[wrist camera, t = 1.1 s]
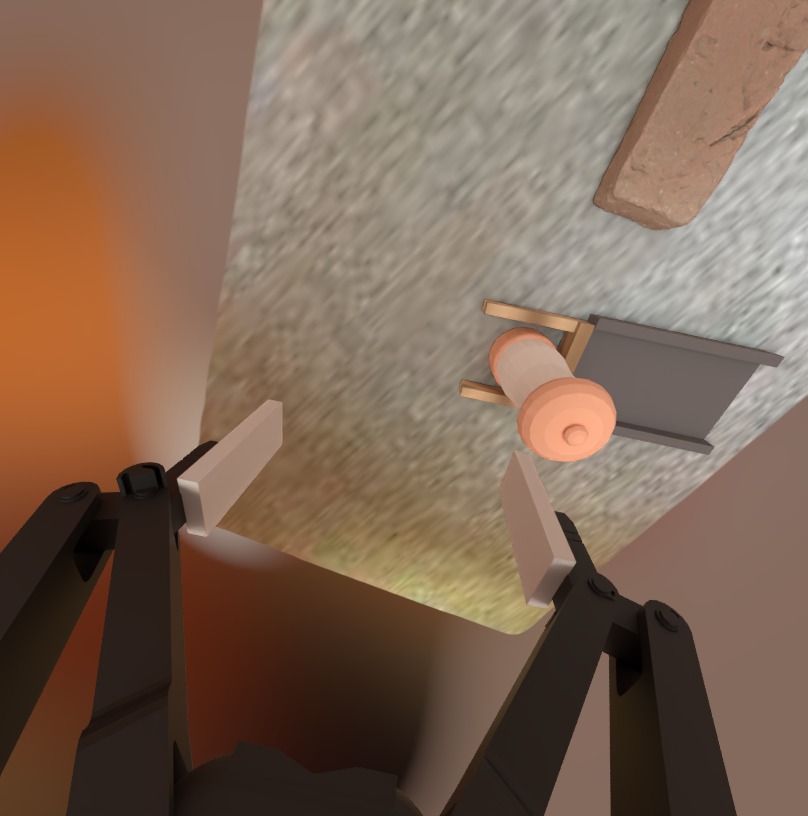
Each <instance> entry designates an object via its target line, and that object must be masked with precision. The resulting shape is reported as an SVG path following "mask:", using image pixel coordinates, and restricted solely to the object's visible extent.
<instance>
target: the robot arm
mask: <svg viewBox="0 0 808 816" xmlns="http://www.w3.org/2000/svg"><path fill="white" fill-rule="evenodd" d="M281 445H282V402H278V401H273V400H269V399H268V400H267V401H266V402H265V403H264V404H263V405H261V406H260V407H259V408H258V409H257V410H256V411H254V412H253V413H252V414H251V415H250V416H249V417H248V418H246V419H245V420H244V421H243V422H242V423H241V424H239V425H238V426H237V427H236V428H235V429H234V430H232V431H231V432H230V433H229V434H228V435H227V436H226V437H224V438H223V439H222V440H221V441H220V442H216V441H208V442H206V443H204V444H202V445H199V446H198V447H197V448H196V449H194V450H193V451H192V452H190V454H188V455H187V456H186V457H184V458H183V460H181V461H179V462H178V463H177V464H176V465H174V466H173V467H172V468H171V469H169V470H168V471H167V472H166V473H165V469H164V467H163V466H162V465H160V464H158V463H152V462H148V463H140V464H136V465H133V466H131V467H128V468H127V469H124V470H123V471H122V472H121V473H119V475H118V477H117V478H116V480H117V483H118V486H119V489H120V492H107V493H101V491H100V488H99V487H98V485H97V484H95V483H92V482H79V483H72V484H69V485H66V486H63V487H61V488H59V489H58V490H55V491H54V492H52V493H51V494H50V495H49V496H48V497H47V498H46V499H45V500H44V501H43V503H42V504H41V505H40V506H39V507H38V509H37V510H36V511H35V512H34V514H33V515H32V516H31V517H30V518H29V519H28V521H27V522H26V523H25V524H24V525H23V527H22V528H21V529H20V530H19V531H18V533H17V534H16V535H15V536H14V537H13V539H12V540H11V541H10V542H9V543H8V545H7V546H6V547H5V548H4V549H3V551H2V552H1V553H0V775H1V773H2V771H3V769H4V767H5V765H6V763H7V761H8V759H9V757H10V755H11V753H12V751H13V749H14V747H15V745H16V743H17V741H18V739H19V737H20V735H21V733H22V731H23V729H24V727H25V725H26V723H27V721H28V719H29V717H30V715H31V713H32V711H33V709H34V707H35V705H36V703H37V701H38V699H39V697H40V695H41V693H42V691H43V689H44V687H45V685H46V683H47V681H48V679H49V677H50V675H51V673H52V671H53V669H54V667H55V665H56V663H57V661H58V659H59V657H60V655H61V653H62V651H63V649H64V647H65V645H66V643H67V641H68V639H69V637H70V635H71V633H72V631H73V629H74V627H75V625H76V623H77V621H78V619H79V617H80V615H81V613H82V611H83V609H84V607H85V605H86V603H87V601H88V599H89V597H90V595H91V593H92V591H93V589H94V587H95V585H96V583H97V581H98V579H99V577H100V575H101V573H102V571H103V569H104V567H105V565H106V563H107V561H108V559H109V557H110V555H111V553H112V551H113V549H115V551H114V558H113V566H112V573H111V580H110V588H109V595H108V602H107V609H106V616H105V623H104V630H103V638H102V645H101V652H100V659H99V667H98V674H97V681H96V688H95V696H94V703H93V710H92V716H91V720H90V723H89V725H88V726H87V727H86V728H85V729H84V730H83V731H82V733H81V736H80V738H79V742H78V747H77V751H76V757H75V763H74V769H73V776H72V782H71V788H70V795H69V801H68V808H67V814H66V816H423V815H422V813H421V812H420V810H419V809H418V808H417V807H416V806H415V804H414V803H413V802H412V801H411V800H410V799H409V798H408V797H407V796H406V795H405V794H404V793H403V792H401V791H400V790H398V789H397V788H396V786H397V776H396V775H392V774H387V773H382V772H378V771H374V770H369V769H365V768H360V767H356V768H350V769H344V770H338V771H332V772H326V773H320V774H313V773H311V772H309V771H308V770H306V769H305V768H303V767H302V766H300V765H299V764H298V763H296V762H295V761H293V760H292V759H290V758H289V757H288V756H286V755H285V754H283V753H282V752H280V751H279V750H277V749H274V748H269V747H265V746H261V745H256V744H252V743H247V742H243V741H238V742H237V745H236V747H235V750H234V752H233V753H228V754H225V755H222V756H219V757H215V758H213V759H211V760H209V761H207V762H205V763H203V764H201V765H200V766H198V767H197V768H195V769H193V768H192V755H191V747H190V740H189V732H188V716H187V692H186V671H185V652H184V651H185V650H184V628H183V607H182V606H183V605H182V584H181V561H180V540H179V532H178V530H179V529H180V528H181V527H182V526H183V525H184V524H185V523H186V526H187V531H188V533H191V534H196V535H202V536H206V537H207V536H208V535H209V533H210V532H211V531H212V530H213V529H214V527H215V526H216V525H217V524H218V522H219V521H220V520H221V519H222V518H223V516H224V515H225V514H226V513H227V511H228V510H229V509H230V508H231V507H232V505H233V504H234V503H235V502H236V500H237V499H238V498H239V497H240V496H241V494H242V493H243V492H244V491H245V489H246V488H247V487H248V486H249V485H250V483H251V482H252V481H253V480H254V478H255V477H256V476H257V475H258V473H259V472H260V471H261V470H262V469H263V467H264V466H265V465H266V464H267V462H268V461H269V460H270V459H271V458H272V456H273V455H274V454H275V453H276V451H277V450H278V449H279V448H280V447H281ZM499 492H500V497H501V501H502V505H503V509H504V513H505V517H506V521H507V525H508V529H509V534H510V538H511V542H512V546H513V550H514V554H515V558H516V562H517V567H518V571H519V575H520V579H521V583H522V587H523V591H524V595H525V600H526V604H527V605H531V606H535V607H540V608H545V609H546V608H547V607H548V605H549V604H550V602H551V601H552V600H553V603H554V606H555V609H556V611H555V612H554V614H553V615H552V617H551V619H550V620H549V621H548V623H547V624H546V626H545V627H546V628H545V630H544V632H543V634H542V635H541V637H540V639H539V640H538V642H537V644H536V646H535V648H534V650H533V651H532V653H531V655H530V657H529V658H528V660H527V662H526V664H525V666H524V668H523V669H522V671H521V673H520V675H519V676H518V678H517V680H516V682H515V684H514V685H513V687H512V689H511V691H510V693H509V694H508V696H507V698H506V700H505V702H504V703H503V705H502V707H501V709H500V710H499V712H498V714H497V716H496V718H495V719H494V721H493V723H492V725H491V727H490V728H489V730H488V732H487V734H486V736H485V737H484V739H483V741H482V743H481V745H480V746H479V748H478V750H477V752H476V753H475V756H474V757H473V759H472V761H471V763H470V764H469V766H468V768H467V770H466V771H465V774H464V775H463V777H462V779H461V780H460V782H459V784H458V786H457V788H456V789H455V791H454V793H453V794H452V796H451V797H450V799H449V801H448V802H447V804H446V806H445V807H444V809H443V811H442V812H441V814H440V816H544V813H545V810H546V808H547V805H548V802H549V799H550V796H551V794H552V791H553V788H554V785H555V783H556V780H557V777H558V774H559V771H560V769H561V765H562V763H563V760H564V757H565V754H566V752H567V749H568V746H569V743H570V740H571V738H572V735H573V732H574V729H575V726H576V724H577V721H578V718H579V715H580V712H581V709H582V707H583V704H584V701H585V698H586V695H587V693H588V690H589V687H590V684H591V681H592V679H593V675H594V673H595V670H596V667H597V664H598V662H599V659H600V656H601V653H602V651H603V652H604V653H606V654H608V655H609V693H610V694H609V698H610V784H611V785H610V788H611V789H610V792H611V816H737V814H736V810H735V806H734V802H733V798H732V794H731V790H730V786H729V782H728V778H727V774H726V770H725V766H724V762H723V758H722V754H721V750H720V746H719V742H718V737H717V733H716V730H715V726H714V722H713V718H712V713H711V709H710V705H709V701H708V697H707V693H706V689H705V685H704V681H703V677H702V673H701V669H700V665H699V661H698V657H697V653H696V649H695V644H694V640H693V636H692V632H691V630H690V628H689V626H688V624H687V623H686V622H685V620H684V619H683V618H682V616H680V615H679V614H678V613H677V612H676V611H675V610H674V609H672V608H671V607H669V606H668V605H666V604H665V603H662V602H659V601H657V600H649V601H648V602H646V603H645V604H644V605H643V606H641V605H639V604H637V603H635V602H633V601H631V600H629V599H627V598H624V597H623V596H621V595H619V593H618V591H617V589H616V588H615V586H614V585H613V584H612V582H610V581H609V580H608V579H607V578H606V577H604V576H603V575H601V574H599V573H597V571H596V569H595V567H594V564H593V562H592V560H591V558H590V556H589V554H588V552H587V550H586V548H585V546H584V544H583V543H582V540H581V538H580V536H579V535H578V532H577V530H576V527H575V525H574V523H573V522H572V521H571V520H570V519H569V518H568V517H567V515H566V514H565V513H561V512H556V511H554V510H553V508H552V505H551V503H550V501H549V498H548V496H547V494H546V491H545V489H544V487H543V484H542V482H541V480H540V478H539V475H538V473H537V471H536V468H535V466H534V464H533V461H532V459H531V457H530V455H529V453H527V452H522V451H517V450H514V453H513V455H512V458H511V460H510V463H509V465H508V468H507V470H506V472H505V475H504V477H503V480H502V482H501V485H500V487H499Z"/></svg>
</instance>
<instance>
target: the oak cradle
mask: <svg viewBox="0 0 808 816" xmlns="http://www.w3.org/2000/svg"><path fill="white" fill-rule="evenodd" d="M482 310H483V312H484V313H485V314H489V315H494V316H498V317H503V318H508V319H513V320H517V321H522V322H527V323H531V324H536V325H541V326H546V327H550V328H555V329H560V330H565V333H564V336H563V338H562V340H561V343H560V345H559V347H558V350H557V351H558V352H559V353H560V355H561V356H562V357H563V358H564V359H565V361H566V363H567V365H568V367H569V369H570V371H571V373H572V375H573V373H574V370H575V368H576V366H577V364H578V362H579V360H580V357H581V355H582V353H583V351H584V349H585V347H586V345H587V342H588V340H589V338H590V336H591V334H592V332H593V330H594V327H595V325H593V324H591V323H589V322H587V321H585V320H581V319H577V318H572V317H567V316H562V315H558V314H553V313H548V312H543V311H539V310H534V309H529V308H524V307H520V306H515V305H510V304H505V303H501V302H496V301H491V300H486V299H485V302H484V305H483V309H482ZM459 389H460V396H464V397H469V398H473V399H478V400H483V401H487V402H492V403H497V404H501V405H506V406H511V407H515V408H518V407H517V406H516V405H515V404H514V403H513V402H512V401H511V400H510V399H509V398H508V397H507V396H506V395H505V393H504V391H503V389H502V388H498V387H494V386H489V385H484V384H480V383H475V382H470V381H466V380H462V381H461V384H460V387H459Z"/></svg>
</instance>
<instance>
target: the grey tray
mask: <svg viewBox="0 0 808 816" xmlns="http://www.w3.org/2000/svg"><path fill="white" fill-rule="evenodd" d="M587 322H589V323H591V324H593V325H595V327H594V330H593V332H592V334H591V336H590V338H589V340H588V342H587V345H586V347H585V349H584V351H583V353H582V355H581V357H580V360H579V362H578V364H577V366H576V368H575V370H574V373H573V376H574V377H575V378H581V379H588V380H590V381H592V382H595V383H597V384H599V385H601V386H602V387H603V388H604V389H605V390H606V391H607V392H608V393H609V395H610V396H611V398H612V401H613V404H614V407H615V409H616V412H617V414H616V425H615V428H614V430H613V432H612V434H614V435H618V436H623V437H628V438H632V439H637V440H642V441H646V442H651V443H656V444H660V445H665V446H670V447H674V448H679V449H684V450H688V451H693V452H698V453H702V454H707V455H709V454H710V452H711V451H712V450H713V449H714V446H712V445H711V444H710V443H708V442H707V441H706V440H704V438H705V437H706V436H707V434H708V433H709V432H710V430H711V429H712V428H713V426H714V425H715V424H716V422H717V421H718V420H719V418H720V417H721V416H722V414H723V413H724V412H725V410H726V409H727V408H728V406H729V405H730V404H731V402H732V401H733V400H734V398H735V397H736V396H737V394H738V393H739V392H740V390H741V389H742V388H743V386H744V385H745V384H746V382H747V381H748V380H749V378H750V377H751V376H752V374H753V373H754V372H755V370H756V369H757V368H758V366H759V365H760V364H762V365H767V366H772V367H777V366H778V365H779V364H780V363H781V361H782V360H783V359H784V357H783V356H780V355H777V354H773V353H770V352H767V351H764V350H759V349H754V348H750V347H745V346H740V345H735V344H731V343H726V342H721V341H716V340H712V339H707V338H702V337H697V336H693V335H688V334H683V333H678V332H674V331H669V330H664V329H659V328H655V327H650V326H645V325H640V324H636V323H631V322H626V321H621V320H617V319H612V318H607V317H602V316H598V315H593V314H590V316H589V319H588V321H587Z"/></svg>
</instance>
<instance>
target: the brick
mask: <svg viewBox="0 0 808 816" xmlns="http://www.w3.org/2000/svg"><path fill="white" fill-rule="evenodd" d="M807 47H808V0H690V2H689V4H688V6H687V8H686V10H685V12H684V13H683V17H682V20H681V24H680V28H679V29H678V31H677V32H676V33H675V34H674V35H673V36H672V38H671V39H670V41H669V43H668V45H667V48H666V51H665V54H664V55H663V57H662V59H661V61H660V64H659V66H658V68H657V70H656V72H655V74H654V76H653V78H652V80H651V82H650V83H649V85H648V87H647V90H646V93H645V96H644V97H643V99H642V101H641V102H640V105H639V107H638V109H637V111H636V114H635V116H634V119H633V120H632V122H631V124H630V126H629V128H628V130H627V132H626V134H625V136H624V138H623V141H622V143H621V146H620V148H619V150H618V151H617V153H616V154H615V156H614V158H613V160H612V162H611V164H610V165H609V167H608V169H607V171H606V173H605V175H604V177H603V180H602V182H601V184H600V186H599V188H598V190H597V193H596V195H595V198H594V203H595V204H596V205H597V206H598V207H601V208H603V209H604V211H606V212H612V213H613V212H615V213H616V214H620V215H622V216H624V217H626V218H628V217H629V218H631V219H632V221H634V222H637V223H638V224H639V225H641V226H643V227H646V228H650V229H653V230H661V229H671V228H675V227H680V226H683V225H686V224H688V223H689V222H690V221H691V220H693V219H694V218H695V217H696V215H697V214H698V212H699V211H700V209H701V208H702V206H703V205H704V204H705V202H706V201H707V200H708V198H709V197H710V196H711V194H712V193H713V191H714V189H715V188H716V186H717V185H718V184H719V182H720V181H721V179H722V178H723V176H724V175H725V173H726V171H727V170H728V168H729V166H730V165H731V163H732V160H733V158H734V156H735V154H736V152H737V151H738V150H739V148H740V147H741V146H742V144H743V142H744V140H745V138H746V136H747V132H748V131H749V130H750V129H751V128H752V127H753V125H754V124H755V122H756V121H757V119H758V117H759V115H760V113H761V112H762V110H763V109H764V107H765V106H766V105H767V104H768V102H769V101H770V100H771V99H772V97H773V96H774V95H775V93H776V92H777V91H778V90H779V86H780V85H781V84H782V83H783V82H784V77H785V76H786V75H787V73H788V72H789V71H790V70H791V69H792V68H793V67H794V66H795V65H796V63H797V62H798V60H799V59H800V57H801V55H802V53H803V52H804V51H805V50H806V49H807Z"/></svg>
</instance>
